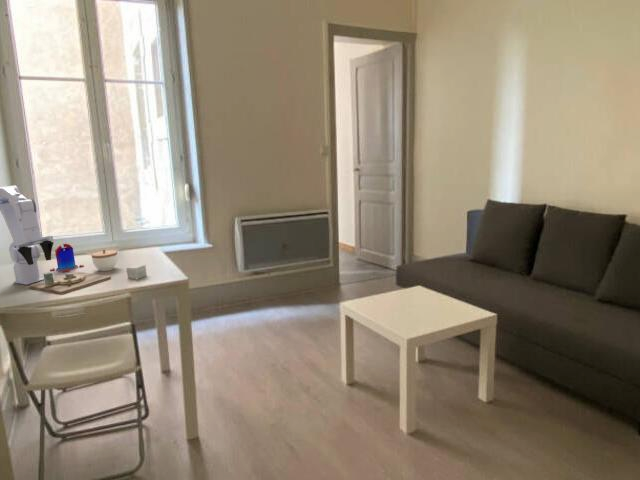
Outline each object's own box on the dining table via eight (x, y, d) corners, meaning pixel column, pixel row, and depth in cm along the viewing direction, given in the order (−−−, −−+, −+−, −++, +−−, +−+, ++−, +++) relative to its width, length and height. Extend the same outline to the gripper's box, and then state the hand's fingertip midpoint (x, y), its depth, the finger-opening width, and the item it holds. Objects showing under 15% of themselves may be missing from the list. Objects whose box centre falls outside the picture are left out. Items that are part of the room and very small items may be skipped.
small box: (137, 274, 200) (135, 264, 199) (147, 275, 198) (145, 264, 197) (127, 278, 195) (125, 267, 194) (137, 279, 193) (136, 268, 192)
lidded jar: (88, 271, 209) (85, 251, 207) (107, 265, 219) (104, 246, 217) (106, 273, 205) (103, 252, 203) (124, 266, 215) (121, 247, 213)
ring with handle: (77, 275, 199) (75, 263, 198) (89, 278, 192) (88, 267, 191) (40, 284, 187) (38, 272, 186) (51, 288, 180) (49, 276, 179)
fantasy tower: (65, 273, 208) (61, 247, 206) (46, 271, 212) (42, 246, 210) (86, 266, 219) (83, 241, 217) (68, 264, 223) (64, 240, 221)
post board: (28, 287, 187) (26, 278, 186) (78, 273, 206) (76, 265, 205) (62, 294, 177) (60, 284, 176) (111, 278, 196) (109, 269, 195)
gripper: (6, 234, 179) (15, 267, 180) (41, 225, 178) (50, 258, 179) (19, 233, 186) (28, 265, 187) (53, 225, 186) (61, 257, 186)
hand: (39, 262), depth 183 cm, fingers open, 7 cm apart
